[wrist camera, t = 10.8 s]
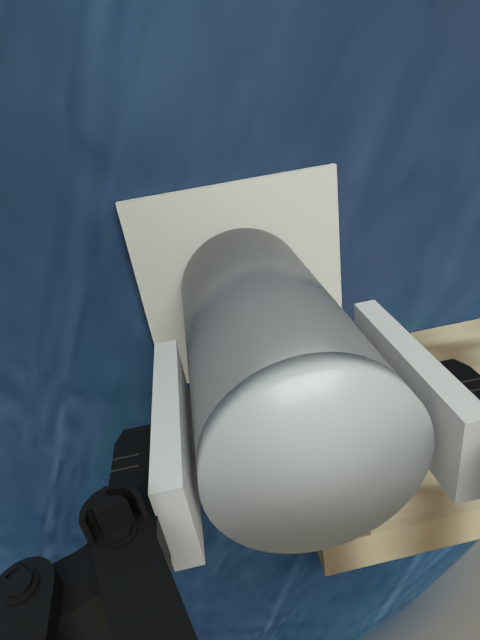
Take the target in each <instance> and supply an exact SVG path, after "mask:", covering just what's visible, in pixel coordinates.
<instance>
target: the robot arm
mask: <svg viewBox="0 0 480 640" xmlns="http://www.w3.org/2000/svg"><path fill="white" fill-rule="evenodd" d="M354 317H355V325H356V326H357V327H358V328H359V329H360V330H361V332H362V333H363V334H364V335H365V336H366V337H367V339H368V340H369V341H370V342H371V343H372V344H373V346H374V347H375V348H376V349H377V350H378V352H379V353H380V354H381V355H382V356H383V357H384V359H385V360H386V361H387V362H388V363H389V364H390V366H391V367H392V368H393V369H394V370H395V372H396V373H397V374H398V375H399V376H400V377H401V379H402V380H403V381H404V382H405V383H406V384H407V386H408V387H409V388H410V389H411V390H412V391H413V393H414V394H415V395H416V396H417V397H418V399H419V400H420V401H421V402H422V403H423V405H424V407H425V408H426V410H427V411H428V413H429V416H430V418H431V421H432V424H433V429H434V435H435V447H434V453H433V459H432V462H431V465H430V468H429V470H430V471H431V473H432V474H433V475H434V477H435V478H436V480H437V481H438V482H439V484H440V485H441V487H442V488H443V489H444V491H445V492H446V494H447V495H448V496H449V498H450V499H451V500H452V502H453V503H454V505H457V504H461V503H465V502H469V501H474V500H478V499H480V374H478V373H477V372H476V371H475V370H474V369H473V368H472V367H470V366H469V365H466V364H464V363H462V362H460V361H458V360H456V359H449V360H444V361H438V360H437V359H436V358H435V357H434V356H433V355H432V354H431V353H430V352H429V351H428V350H427V349H425V348H424V347H423V346H422V345H421V344H420V343H419V342H418V341H417V340H416V339H415V338H414V337H413V336H412V335H411V334H410V333H409V332H408V331H407V330H406V329H405V328H403V327H402V326H401V325H400V324H399V323H398V322H397V321H396V320H395V319H394V318H393V317H392V316H391V315H390V314H389V313H388V312H387V311H386V310H385V309H384V308H382V307H381V306H380V305H379V304H378V303H377V302H376V301H375V300H371V301H366V302H361V303H356V304H354ZM79 525H80V527H81V529H82V531H83V533H84V535H85V537H86V539H87V541H88V543H87V544H86V545H85V546H83V547H82V548H80V549H79V550H77V551H76V552H74V553H72V554H70V555H68V556H66V557H64V558H63V559H61V560H59V561H57V562H55V563H53V564H51V562H50V561H49V560H48V559H46V558H43V557H40V556H37V557H30V558H26V559H24V560H21V561H19V562H17V563H15V564H13V565H12V566H11V567H10V568H8V569H7V570H6V571H5V572H3V573H2V574H1V576H0V640H198V639H197V636H196V634H195V631H194V629H193V626H192V624H191V621H190V619H189V616H188V614H187V611H186V609H185V606H184V604H183V601H182V599H181V596H180V594H179V591H178V589H177V586H176V584H175V581H174V579H173V576H172V574H171V562H172V565H173V568H174V571H175V572H176V571H180V570H184V569H188V568H193V567H197V566H201V565H205V554H204V543H203V531H202V519H201V508H200V496H199V490H198V479H197V467H196V456H195V444H194V433H193V421H192V409H191V398H190V394H189V390H188V386H187V382H186V378H185V374H184V370H183V366H182V362H181V357H180V353H179V349H178V345H177V341H176V340H172V341H167V342H162V343H157V344H155V346H154V368H153V391H152V414H151V424H150V425H145V426H141V427H136V428H131V429H127V430H124V431H123V432H122V434H121V435H120V437H119V438H118V440H117V442H116V443H115V447H114V454H113V461H112V467H111V474H110V481H109V486H106V487H103V488H102V489H100V490H99V491H97V492H95V493H94V494H93V495H92V496H91V497H90V498H89V499H88V500H87V501H86V502H85V503H84V505H83V507H82V509H81V511H80V513H79Z"/></svg>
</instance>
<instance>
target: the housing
mask: <svg viewBox="0 0 480 640" xmlns="http://www.w3.org/2000/svg"><path fill="white" fill-rule="evenodd" d="M410 334H411V335H412V336H413V337H414V338H415V339H416V340H417V341H418V342H419V343H420V344H421V345H422V346H423V347H424V348H425V349H427V350H428V351H429V352H430V353H431V354H432V355H433V356H434V357H435V358H436V359H437V360H438V361H444V360H449V359H456V360H458V361H460V362H462V363H464V364H466V365H469V366H470V367H472V368H473V369H474V370H475V371H476V372H477V373H478V374H480V319H475V320H470V321H465V322H461V323H456V324H451V325H446V326H441V327H436V328H432V329H427V330H422V331H417V332H412V333H410ZM477 539H480V499H478V500H474V501H469V502H465V503H461V504H457V505H454V503H453V502H452V500H451V499H450V498H449V496H448V495H447V494H446V492H445V491H444V489H443V488H442V487H441V485H440V484H439V482H438V481H437V480H436V478H435V477H434V475H433V474H432V473H431V471H430V470H428V472H427V475H426V477H425V479H424V481H423V482H422V484H421V485H420V487H419V489H418V490H417V492H416V493H415V494H414V495H413V497H412V498H411V499H410V500H409V502H408V503H407V504H406V505H405V506H404V507H403V508H402V509H401V510H400V511H398V512H397V513H396V514H395V515H394V516H392V517H391V518H390V519H389V520H388V521H386V522H385V523H383V524H382V525H380V526H379V527H377V528H376V529H374V530H372V531H371V532H369V533H367V534H365V535H363V536H361V537H359V538H357V539H355V540H353V541H350V542H347V543H345V544H342V545H339V546H336V547H332V548H329V549H325V550H320V551H317V553H318V556H319V559H320V562H321V565H322V568H323V571H324V574H325V577H326V576H330V575H334V574H338V573H342V572H346V571H350V570H354V569H358V568H362V567H367V566H371V565H375V564H379V563H383V562H387V561H391V560H395V559H399V558H403V557H408V556H412V555H416V554H420V553H424V552H428V551H432V550H436V549H440V548H444V547H449V546H453V545H457V544H461V543H465V542H469V541H473V540H477Z"/></svg>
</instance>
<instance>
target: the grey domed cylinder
mask: <svg viewBox="0 0 480 640" xmlns="http://www.w3.org/2000/svg"><path fill="white" fill-rule="evenodd" d="M181 293H182V304H183V316H184V328H185V339H186V351H187V363H188V374H189V386H190V398H191V409H192V421H193V433H194V444H195V456H196V467H197V479H198V490H199V496H200V501H201V503H202V506H203V509H204V511H205V513H206V515H207V516H208V518H209V520H210V521H211V522H212V523H213V524H214V526H215V527H216V528H217V529H218V530H219V531H221V532H222V533H223V534H224V535H225V536H227V537H228V538H230V539H232V540H233V541H235V542H237V543H239V544H241V545H244V546H246V547H249V548H252V549H256V550H259V551H264V552H270V553H281V554H299V553H308V552H315V551H320V550H325V549H329V548H332V547H336V546H339V545H342V544H345V543H347V542H350V541H353V540H355V539H357V538H359V537H361V536H363V535H365V534H367V533H369V532H371V531H372V530H374V529H376V528H377V527H379V526H380V525H382V524H383V523H385V522H386V521H388V520H389V519H390V518H391V517H392V516H394V515H395V514H396V513H397V512H398V511H400V510H401V509H402V508H403V507H404V506H405V505H406V504H407V503H408V502H409V500H410V499H411V498H412V497H413V495H414V494H415V493H416V492H417V490H418V489H419V487H420V485H421V484H422V482H423V481H424V479H425V477H426V475H427V472H428V470H429V468H430V465H431V462H432V459H433V453H434V447H435V435H434V429H433V424H432V421H431V418H430V416H429V413H428V411H427V410H426V408H425V407H424V405H423V403H422V402H421V401H420V400H419V399H418V397H417V396H416V395H415V394H414V393H413V391H412V390H411V389H410V388H409V387H408V386H407V384H406V383H405V382H404V381H403V380H402V379H401V377H400V376H399V375H398V374H397V373H396V372H395V370H394V369H393V368H392V367H391V366H390V364H389V363H388V362H387V361H386V360H385V359H384V357H383V356H382V355H381V354H380V353H379V352H378V350H377V349H376V348H375V347H374V346H373V344H372V343H371V342H370V341H369V340H368V339H367V337H366V336H365V335H364V334H363V333H362V332H361V330H360V329H359V328H358V327H357V326H356V325H355V323H354V322H353V321H352V320H351V319H350V317H349V316H348V315H347V314H346V313H345V312H344V310H343V309H342V308H341V307H340V306H339V305H338V303H337V302H336V301H335V300H334V299H333V297H332V296H331V295H330V294H329V293H328V292H327V290H326V289H325V288H324V287H323V286H322V285H321V283H320V282H319V281H318V280H317V279H316V278H315V276H314V275H313V274H312V273H311V272H310V270H309V269H308V268H307V267H306V266H305V265H304V263H303V262H302V261H301V260H300V259H299V258H298V256H297V255H296V254H295V253H294V252H293V250H292V249H291V248H290V247H289V246H288V245H287V244H286V243H285V242H284V241H283V240H281V239H280V238H278V237H277V236H275V235H273V234H271V233H269V232H267V231H263V230H260V229H253V228H238V229H232V230H228V231H225V232H222V233H220V234H217V235H215V236H214V237H212V238H210V239H209V240H207V241H206V242H205V243H203V244H202V245H201V246H200V247H199V248H198V249H197V250H196V251H195V253H194V254H193V255H192V257H191V258H190V260H189V262H188V263H187V266H186V268H185V270H184V274H183V277H182V285H181Z"/></svg>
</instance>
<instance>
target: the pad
mask: <svg viewBox="0 0 480 640" xmlns="http://www.w3.org/2000/svg"><path fill="white" fill-rule="evenodd" d="M115 204H116V208H117V212H118V215H119V219H120V223H121V226H122V230H123V233H124V237H125V241H126V244H127V248H128V252H129V255H130V259H131V262H132V266H133V270H134V273H135V277H136V281H137V284H138V288H139V291H140V295H141V299H142V302H143V306H144V310H145V313H146V317H147V320H148V324H149V328H150V331H151V335H152V339H153V342H154V346H155V344H157V343H162V342H167V341H172V340H176V341H177V345H178V349H179V353H180V357H181V362H182V366H183V370H184V374H185V378H186V382H187V383H189V374H188V363H187V351H186V339H185V328H184V316H183V304H182V293H181V285H182V277H183V274H184V270H185V268H186V266H187V263H188V262H189V260H190V258H191V257H192V255H193V254H194V253H195V251H196V250H197V249H198V248H199V247H200V246H201V245H202V244H203V243H205V242H206V241H207V240H209V239H210V238H212V237H214V236H215V235H217V234H220V233H222V232H225V231H228V230H232V229H238V228H253V229H260V230H263V231H267V232H269V233H271V234H273V235H275V236H277V237H278V238H280V239H281V240H283V241H284V242H285V243H286V244H287V245H288V246H289V247H290V248H291V249H292V250H293V252H294V253H295V254H296V255H297V256H298V258H299V259H300V260H301V261H302V262H303V263H304V265H305V266H306V267H307V268H308V269H309V270H310V272H311V273H312V274H313V275H314V276H315V278H316V279H317V280H318V281H319V282H320V283H321V285H322V286H323V287H324V288H325V289H326V290H327V292H328V293H329V294H330V295H331V296H332V297H333V299H334V300H335V301H336V302H337V303H338V305H339V306H340V307H341V308H342V296H341V270H340V243H339V217H338V190H337V164H334V163H332V164H327V165H321V166H315V167H310V168H304V169H299V170H293V171H287V172H282V173H276V174H270V175H265V176H259V177H253V178H248V179H242V180H237V181H231V182H225V183H220V184H214V185H208V186H203V187H197V188H191V189H186V190H180V191H174V192H169V193H163V194H158V195H152V196H146V197H141V198H135V199H129V200H124V201H118V202H116V203H115Z"/></svg>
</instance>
